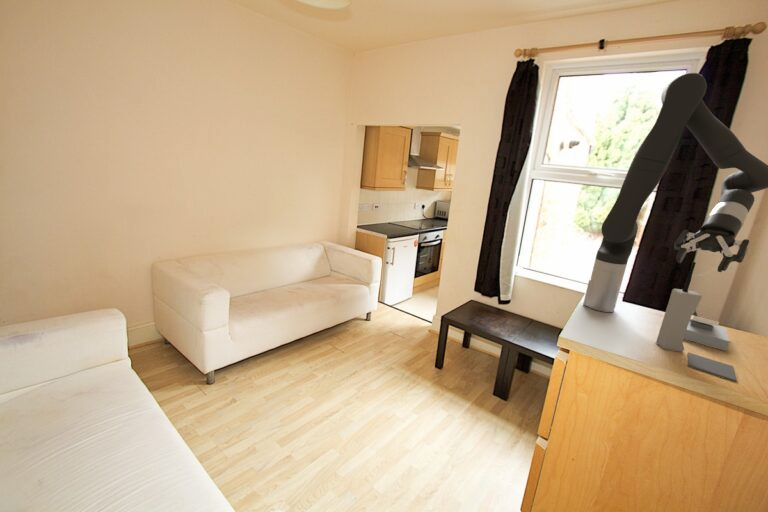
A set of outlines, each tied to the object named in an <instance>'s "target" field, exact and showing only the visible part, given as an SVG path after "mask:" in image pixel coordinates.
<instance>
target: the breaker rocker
mask: <svg viewBox="0 0 768 512" xmlns="http://www.w3.org/2000/svg"><path fill="white" fill-rule="evenodd" d="M690 319H692V320H696V321H700V322H704V323H707V324H711V325H716V326H719V324H720V321H718V320H713V319H709V318H706V317H702V316H697V315H695V314H692V315H691V318H690Z"/></svg>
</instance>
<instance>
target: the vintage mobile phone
mask: <svg viewBox="0 0 768 512" xmlns="http://www.w3.org/2000/svg"><path fill="white" fill-rule="evenodd" d="M696 264H697V263H696V262H695V261H692V263H691V266H690V270H689V273H688V276H687V279H686V281H685V283H684V287H683V288H681V289H680V288H673V289H672V290H671V293H670V297H669V300H668V304H667V305H666V310H665V312H664V316H663V319H662V322H661V326H660V328H659V332H658V335H657V337H656V338H657V339H656V344H657V345H659V347H660V348H662V350H667V351H674V352H679V353H682V352H685V351H684V350H685V346H684V342H683V341H684V340H685V339H684V336H685V333H686V330H687V327H688V324H689V321H690V318H691V315H694V314H695V312H696V311H697V308H698V306H699V304H700V302H701V299H702V297H703V295H701V294H700V293H698V292H696V291H694V290H689V287H690V283H691V280H692V276H693V273H694V269H695V266H696Z"/></svg>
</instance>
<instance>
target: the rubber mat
mask: <svg viewBox="0 0 768 512" xmlns="http://www.w3.org/2000/svg"><path fill="white" fill-rule="evenodd" d="M686 355H687V356H686V357H687V367H689V368H692V369H695V370H697V371H700V372H703V373H707V374H709V373H710V374H709V375H712V374H713V376H715V375H716V377H719V378H722V377H723V378H722V379H725V380H728V381H730V382H731V381H732V382H734V383H737V381H738V380H737V375H736V372H735V368H734V365H730V364H727V363H724V362H721V361H719V360H714V359H711V358H708V357H705V356H701V355H698V354H695V353H691V352H687V354H686Z"/></svg>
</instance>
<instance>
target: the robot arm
mask: <svg viewBox="0 0 768 512" xmlns="http://www.w3.org/2000/svg"><path fill="white" fill-rule="evenodd" d="M707 89H708V85H707V81H706V79H705V77H704V76H703V75H702V74H700V73H698V72H688V73H683V74H682V75H680V76H677V77H676V78H674V79H673V80H671V81H670V82H669V83H668V84H667V85H666V86H665V87H664V88H663V90H662V91H661V97H660V98H661V99H660V100H661V105H662V106H661V108H660V111H659V113H658V116H657V118H656V120H655V123H654V124H653V126H652V128H651V130H649V133H648V134H647V135H646V137H645V138H644V139H643V141H642V143H641V144H640V146H639V147H638V148H637V149H638V150H637V151H636V153H635V155H634V157H633V159H632V161H631V163H630V166H629V167H628V170H627V172H626V176H625V177H624V180H623V183H622V185H621V188H620V191H619V193H618V196H617V197H616V198H617V199H616V200H615V202H614V204H613V206H612V207H611V209H610V211H609V213H608V214H607V215H606V217H605V218H604V220H603V222H602V225H601V227H600V228H601V235H602V240H601V243H600V245H599V248H598V250H597V252H596V256H595V259H594V265H593V269H592V270H591V271H592V272H591V274H590V275H591V276H590V279H589V280H588V283H587V286H586V291H585V295H584V299H583V303H582V305H583V306H586V307H587V308H590V309H592V310H595V311H598V312H605V313H613V312H614V311H615V310H616V309H615V308H616V307H617V302H618V297H619V294H620V289H621V287H622V282H623V280H624V275H625V272H626V269H627V265H628V261H629V258H630V256H631V254H632V252H633V248H634V244H635V241H636V238H637V234H638V228H639V226H638V225H639V224H638V221H637V219H638V217H639V215H640V212H641V211H642V208H643V206H644V204H645V203H646V201H647V199H648V198H649V197H650V196H651V194H652V193H653V192H654V190H655V189H656V188H657V186H658V184H660V183H659V182H660V181H661V180H662V178H663V176H664V174H665V172H666V170H667V168H668V166H669V164H670V163H671V161H672V157H673V155H674V153H675V151H676V149H677V147H678V144H679V142H680V139H681V137H682V134H683V131H684V130H685V127H687V129H688V130H689V131H690V133H691V134H692V135H693V137H695V139H696V140H697V141H698V143H699V144H700V145H701V147H702V149H703V150H704V151H705V153H706V155H708V157H709V158H710V160H711V161H712V162H713V164H714V165H715V166H716V167H717V168H718V169H720V170H727V169H737V170H738V171H735V172H733V173H731V174H729V175H728V176H726V177H725V178H724V180H722V182H721V188H720V189H721V191H720V198H719V200H718V201H717V202H716V205H715V206H714V207H713V208H712V209H711V211H710V212H709V213H708V215H707V217H706V219H705V220H704V222H703V224H702V225H701V227H700V229H699V230H698V231H697V232H695V233H694V232H691V231H690V232H689V229H684V230H683V231H682V232H681V233H680V234H679V236H678V237H677V239H676V240H675V241H674V242H673V243H674V244H673V245H674V250H675V251H677V253H676V254H675V261H677V264H681V263H682V262H683V260H684V259H685V257H686V255H687V253H690V252H695V251H698V250H702V251H707V252H708V251H709V252H711V253H716V252H717V253H719V254H720V256H721V257H722V259H721V261H720V262H719V264H718V266H717V272H719V273H722V271H724V272H725V271H726V270H727V269H728V268H729V266H730V264H731V263H732V262H735V263H739V264H740V263H742V262H744V258H745V256H746V254H747V251H748V249H749V246H750V240H749V239H747V238H746V239H743V240H737V239H736V238H737V236H738V233H740V231H741V229H742V227H743V226H744V225H745V222H746V219H747V216H748V214H749V212H750V210H751V209H752V207H753V205H754V204H755V203H754V202H755V196H754V194H753V193H755V192H760V191H762V190H766V189H768V164H767V163H765V162H764V161H762V160H761V159H759V158H758V157H756V156H755V155H754V154H752V153H751V152H749V151H748V150H747V149H746V147H744V145H743V143H742V142H741V141H740V140H739V138H738V136H737V135H736V134H735V133H734V132H733V131H732V130H731V129H730V128H729V127H728V126H727V125H726V124H724V123H723V122H722V121H720V120H719V119H718V118H717V117H716V116H715V115H714V114H713V113H712V112H711V110H710V109H709V108H708V106H707V105H706V104H705V102H704V100H703V98H704V97H705V95H706V93H707ZM686 241H689V242H687V243H686ZM733 246H736V249H738V250H737V252H736V253H735V254H733V253H732V252H731V250H730V248H731V247H733Z"/></svg>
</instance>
